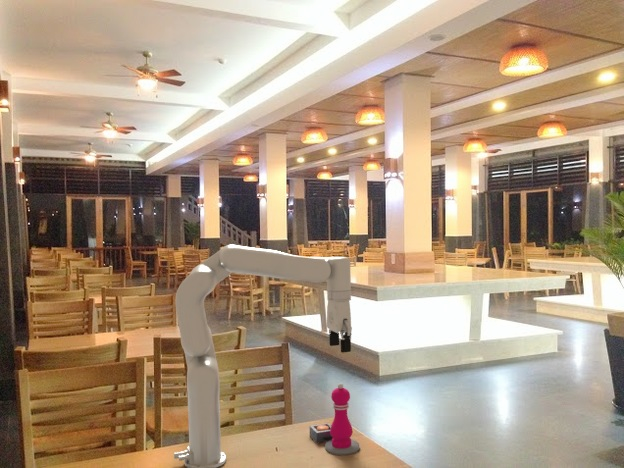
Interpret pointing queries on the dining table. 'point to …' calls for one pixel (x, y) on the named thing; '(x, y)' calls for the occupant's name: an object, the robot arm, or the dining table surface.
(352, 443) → the pad
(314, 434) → the button housing
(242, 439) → the dining table surface
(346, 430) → the pepper mill
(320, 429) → the button
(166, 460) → the dining table surface
